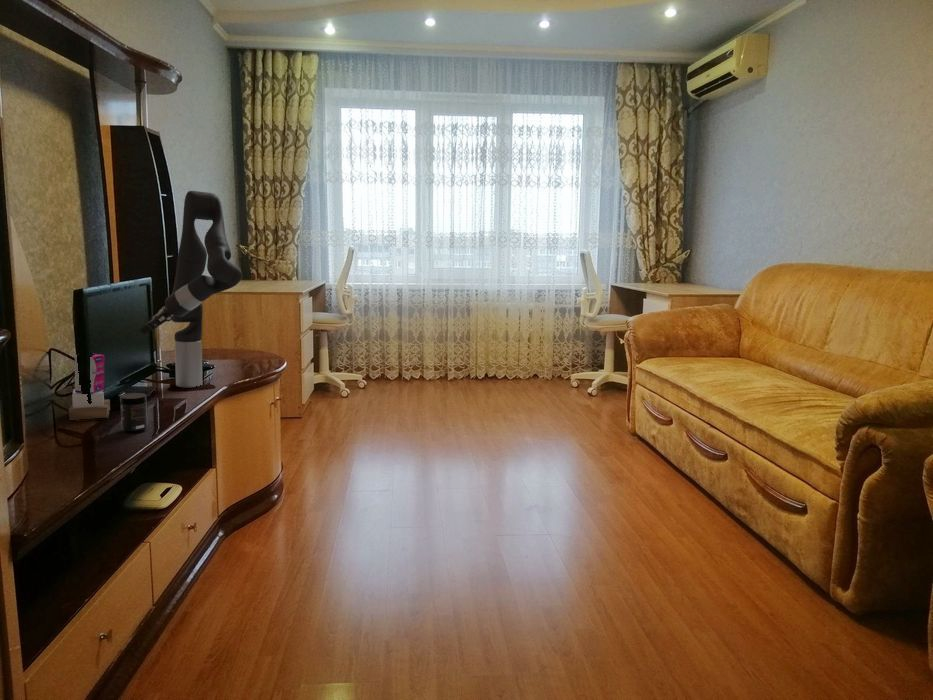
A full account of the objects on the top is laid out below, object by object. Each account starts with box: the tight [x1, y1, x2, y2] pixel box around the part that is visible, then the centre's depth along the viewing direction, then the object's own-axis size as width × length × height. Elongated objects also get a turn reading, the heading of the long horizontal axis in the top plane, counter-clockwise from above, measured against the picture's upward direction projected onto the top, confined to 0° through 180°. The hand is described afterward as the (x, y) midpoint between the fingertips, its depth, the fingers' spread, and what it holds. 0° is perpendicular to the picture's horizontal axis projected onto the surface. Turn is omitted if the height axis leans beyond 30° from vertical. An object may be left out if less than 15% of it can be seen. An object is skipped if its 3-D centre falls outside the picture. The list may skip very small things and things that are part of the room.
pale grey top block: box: [71, 388, 105, 408], centre depth 195 cm, size 8×8×4 cm
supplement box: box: [74, 353, 105, 394], centre depth 194 cm, size 6×6×12 cm
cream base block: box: [68, 399, 111, 421], centre depth 195 cm, size 10×10×4 cm
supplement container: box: [119, 392, 148, 434], centre depth 182 cm, size 7×7×10 cm
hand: (146, 327), depth 203 cm, fingers open, 8 cm apart
